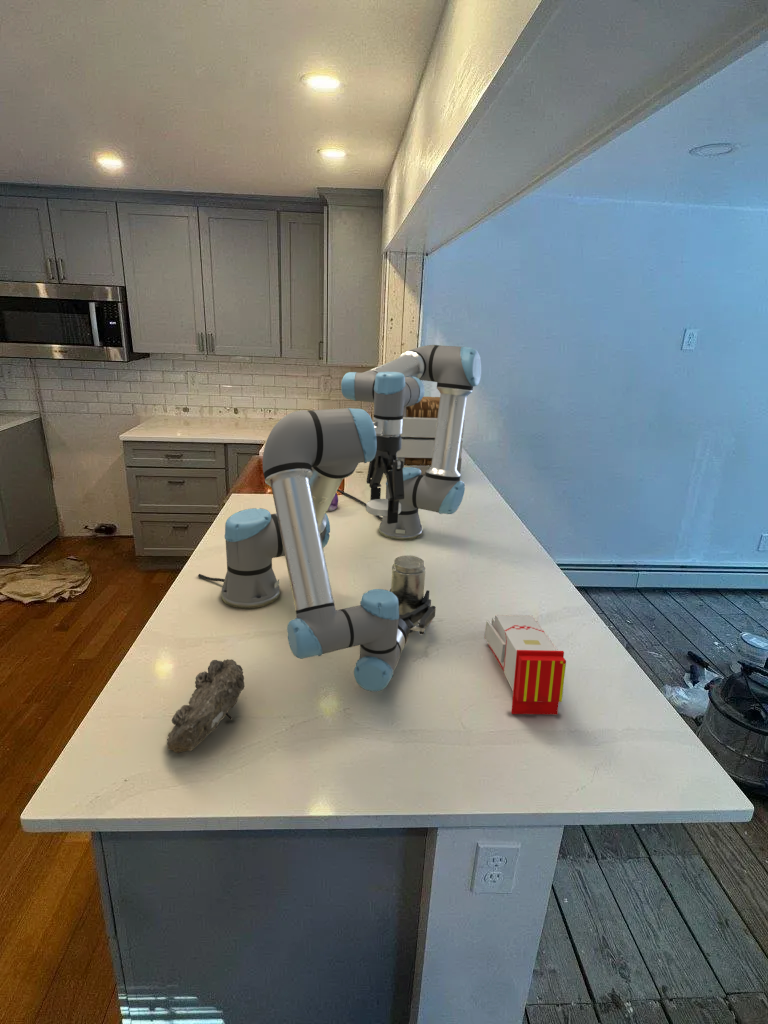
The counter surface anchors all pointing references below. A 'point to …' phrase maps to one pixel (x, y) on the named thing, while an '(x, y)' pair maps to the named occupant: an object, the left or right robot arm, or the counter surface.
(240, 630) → the counter surface
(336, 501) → the figurine
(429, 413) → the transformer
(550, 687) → the toy
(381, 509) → the lid
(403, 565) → the jar
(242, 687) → the fossil
